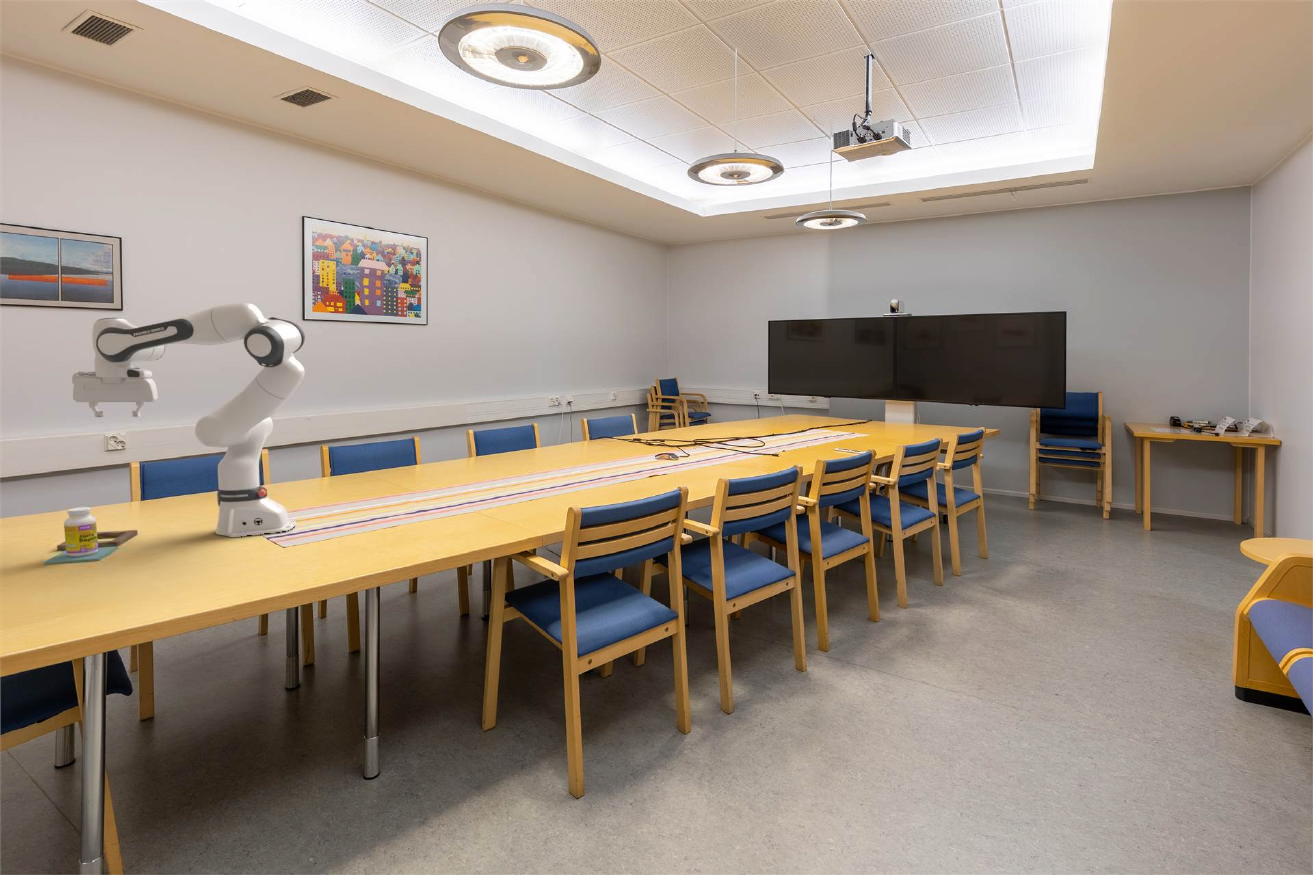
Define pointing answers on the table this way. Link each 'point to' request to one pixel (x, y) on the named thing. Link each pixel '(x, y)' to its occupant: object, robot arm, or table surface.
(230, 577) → the table surface
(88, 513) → the supplement bottle
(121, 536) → the brown wooden square frame
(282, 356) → the robot arm
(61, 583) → the table surface
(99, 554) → the teal mat
